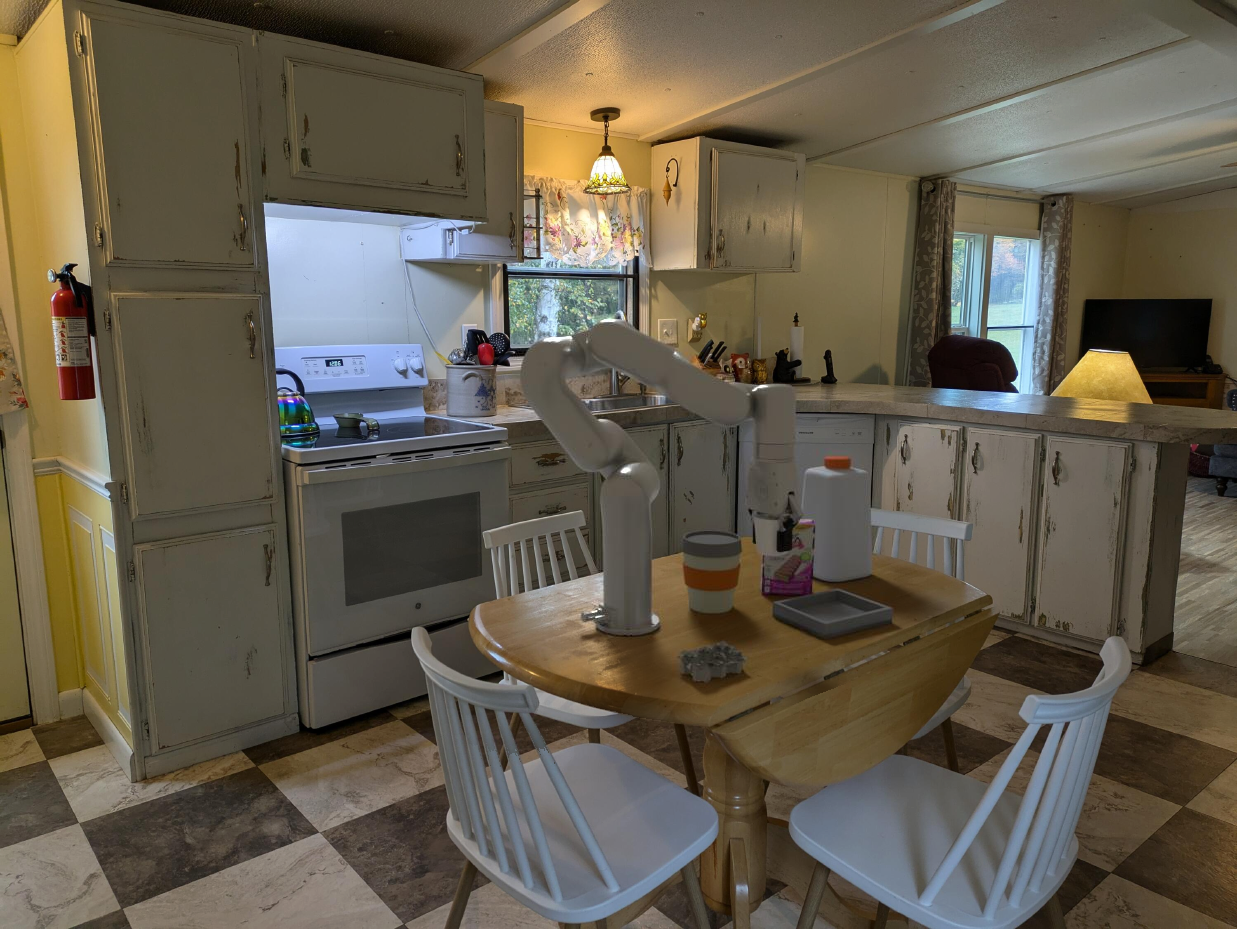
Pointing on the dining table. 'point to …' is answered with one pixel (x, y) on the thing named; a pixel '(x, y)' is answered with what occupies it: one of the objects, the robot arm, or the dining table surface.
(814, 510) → the plastic bottle
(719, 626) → the dining table surface
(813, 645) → the dining table surface
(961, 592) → the dining table surface
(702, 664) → the egg carton
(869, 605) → the tray
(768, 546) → the white cup
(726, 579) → the reusable coffee cup
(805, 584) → the candy bar box
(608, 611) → the robot arm
